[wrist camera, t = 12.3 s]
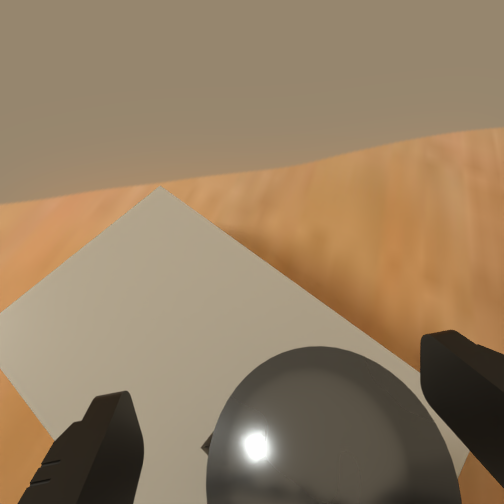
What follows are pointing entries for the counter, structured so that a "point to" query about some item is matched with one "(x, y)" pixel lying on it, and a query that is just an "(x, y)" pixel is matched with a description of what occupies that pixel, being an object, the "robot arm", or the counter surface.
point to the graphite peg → (327, 436)
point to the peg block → (168, 337)
